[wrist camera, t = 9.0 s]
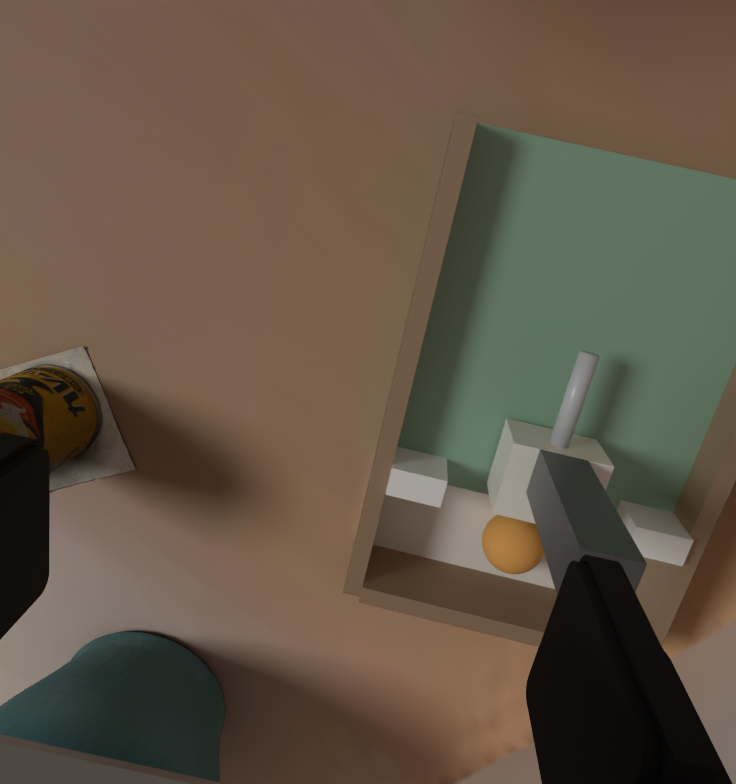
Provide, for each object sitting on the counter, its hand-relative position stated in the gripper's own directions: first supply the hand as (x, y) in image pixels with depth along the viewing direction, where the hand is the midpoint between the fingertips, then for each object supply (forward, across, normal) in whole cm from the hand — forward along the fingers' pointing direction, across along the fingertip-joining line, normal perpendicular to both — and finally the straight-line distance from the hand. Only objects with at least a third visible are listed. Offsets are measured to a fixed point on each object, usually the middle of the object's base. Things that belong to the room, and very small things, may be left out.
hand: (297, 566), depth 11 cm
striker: (+23, -10, +4) cm, 25 cm away
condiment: (+26, +19, +12) cm, 34 cm away
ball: (+23, -10, +12) cm, 28 cm away
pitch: (+25, -10, +4) cm, 28 cm away
